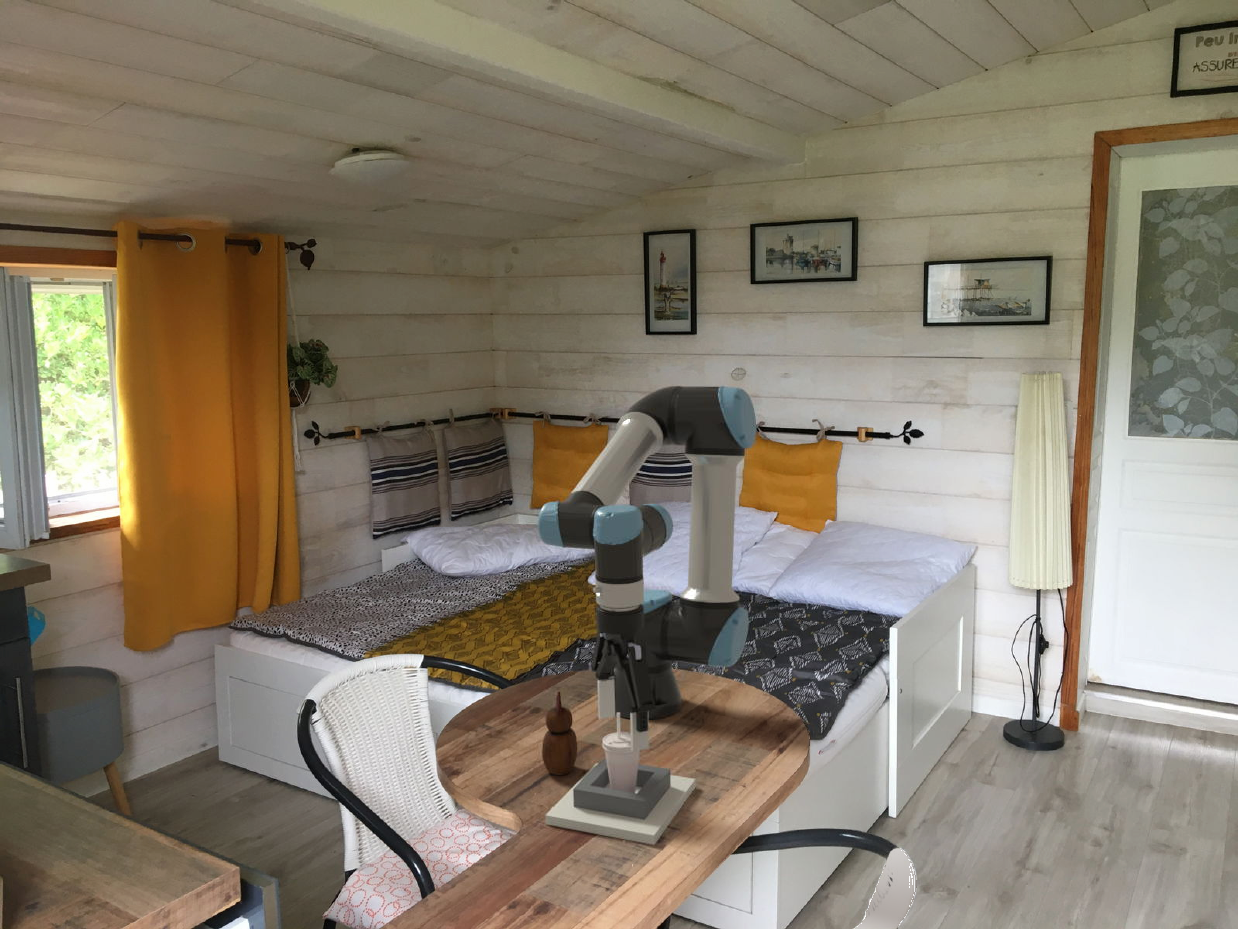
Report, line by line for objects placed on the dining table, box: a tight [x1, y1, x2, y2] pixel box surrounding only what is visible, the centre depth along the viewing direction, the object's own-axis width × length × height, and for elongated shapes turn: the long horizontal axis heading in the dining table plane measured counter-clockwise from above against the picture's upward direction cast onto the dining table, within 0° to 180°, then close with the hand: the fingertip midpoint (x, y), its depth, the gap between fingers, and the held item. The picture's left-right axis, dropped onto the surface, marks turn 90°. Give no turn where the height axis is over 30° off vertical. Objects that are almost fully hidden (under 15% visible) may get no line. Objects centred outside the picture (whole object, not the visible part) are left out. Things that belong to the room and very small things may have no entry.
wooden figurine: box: [541, 691, 578, 776], centre depth 177 cm, size 7×6×15 cm
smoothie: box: [601, 712, 641, 793], centre depth 164 cm, size 6×6×14 cm
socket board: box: [545, 757, 697, 846], centre depth 165 cm, size 20×18×4 cm
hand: (622, 733), depth 164 cm, fingers open, 13 cm apart
